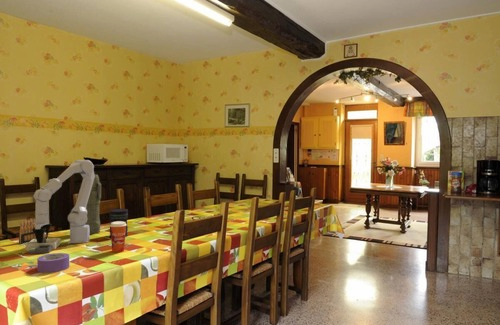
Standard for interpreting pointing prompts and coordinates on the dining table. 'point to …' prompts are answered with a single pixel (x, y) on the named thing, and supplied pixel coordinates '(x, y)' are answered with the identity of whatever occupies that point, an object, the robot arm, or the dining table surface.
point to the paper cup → (118, 236)
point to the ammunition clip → (26, 232)
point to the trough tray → (53, 241)
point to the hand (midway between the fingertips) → (42, 240)
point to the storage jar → (119, 217)
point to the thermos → (94, 207)
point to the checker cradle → (40, 249)
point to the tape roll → (53, 262)
